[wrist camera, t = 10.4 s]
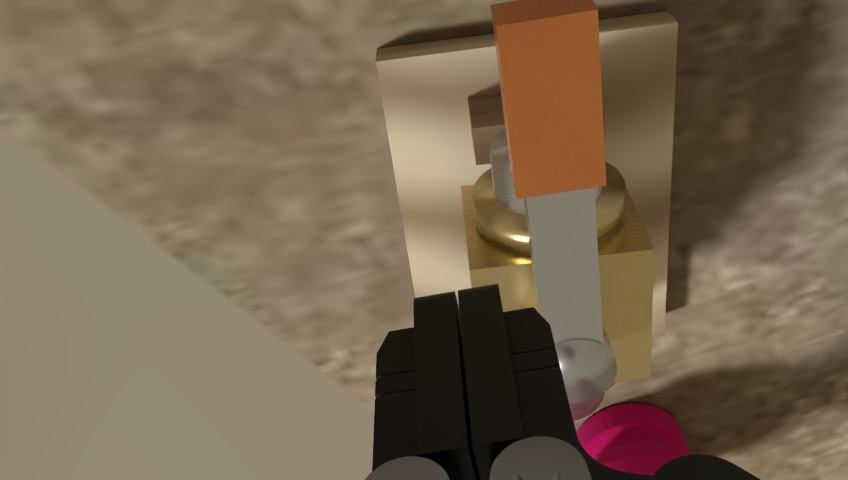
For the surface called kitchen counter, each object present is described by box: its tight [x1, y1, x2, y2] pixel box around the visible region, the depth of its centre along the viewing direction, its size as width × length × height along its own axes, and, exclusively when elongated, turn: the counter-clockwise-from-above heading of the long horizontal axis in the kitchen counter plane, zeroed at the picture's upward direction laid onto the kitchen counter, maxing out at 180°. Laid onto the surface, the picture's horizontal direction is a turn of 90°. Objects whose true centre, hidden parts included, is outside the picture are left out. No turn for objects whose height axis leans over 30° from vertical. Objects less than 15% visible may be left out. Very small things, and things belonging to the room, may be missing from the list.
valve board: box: [376, 11, 678, 337], centre depth 36 cm, size 16×12×4 cm
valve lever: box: [490, 0, 617, 403], centre depth 25 cm, size 3×14×2 cm, turn 9°
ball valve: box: [461, 130, 654, 421], centre depth 32 cm, size 12×6×7 cm, turn 7°
